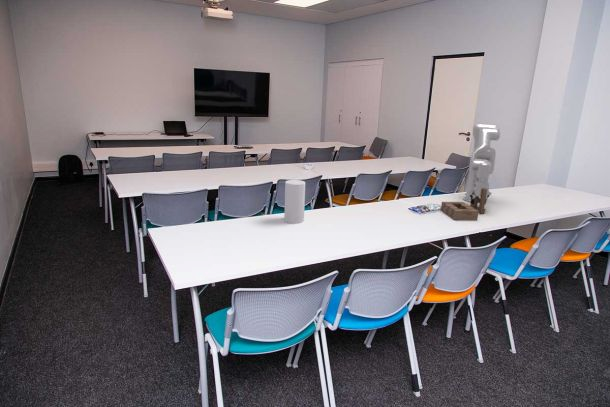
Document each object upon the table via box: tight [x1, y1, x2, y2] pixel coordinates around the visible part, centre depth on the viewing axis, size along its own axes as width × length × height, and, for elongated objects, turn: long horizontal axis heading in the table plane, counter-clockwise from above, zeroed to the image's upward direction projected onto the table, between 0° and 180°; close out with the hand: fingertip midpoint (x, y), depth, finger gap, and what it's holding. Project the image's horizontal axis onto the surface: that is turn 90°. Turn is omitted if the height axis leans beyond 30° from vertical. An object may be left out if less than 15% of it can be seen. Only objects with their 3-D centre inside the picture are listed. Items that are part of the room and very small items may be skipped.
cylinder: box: [283, 179, 306, 225], centre depth 251 cm, size 12×12×25 cm
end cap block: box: [440, 201, 480, 221], centre depth 278 cm, size 22×16×6 cm
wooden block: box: [469, 189, 487, 215], centre depth 286 cm, size 4×11×18 cm, turn 25°
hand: (478, 203), depth 287 cm, fingers open, 8 cm apart
